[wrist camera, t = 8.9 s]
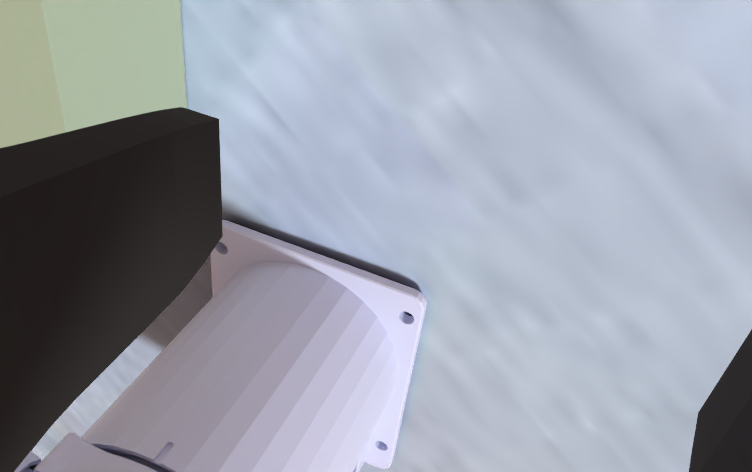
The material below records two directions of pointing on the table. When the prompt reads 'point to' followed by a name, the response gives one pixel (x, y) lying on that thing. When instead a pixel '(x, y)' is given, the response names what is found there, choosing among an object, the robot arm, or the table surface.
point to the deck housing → (86, 64)
